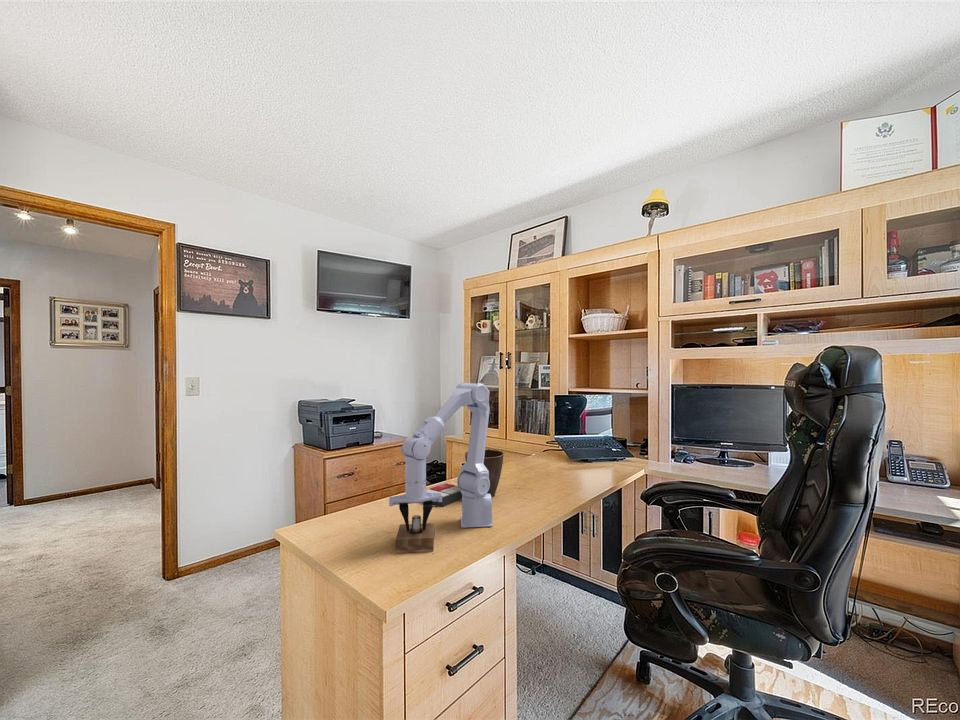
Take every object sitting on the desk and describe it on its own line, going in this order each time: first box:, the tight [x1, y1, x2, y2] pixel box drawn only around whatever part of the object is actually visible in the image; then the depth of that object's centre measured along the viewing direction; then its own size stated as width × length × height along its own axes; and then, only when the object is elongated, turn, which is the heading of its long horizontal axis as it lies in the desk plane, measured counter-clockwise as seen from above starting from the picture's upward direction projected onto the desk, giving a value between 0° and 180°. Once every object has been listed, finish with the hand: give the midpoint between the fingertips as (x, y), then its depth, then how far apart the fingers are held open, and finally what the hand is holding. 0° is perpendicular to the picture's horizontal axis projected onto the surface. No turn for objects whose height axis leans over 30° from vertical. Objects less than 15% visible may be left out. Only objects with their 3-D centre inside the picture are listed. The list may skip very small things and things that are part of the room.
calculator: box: [426, 482, 462, 508], centre depth 147 cm, size 11×4×15 cm
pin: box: [411, 514, 422, 534], centre depth 109 cm, size 2×2×7 cm
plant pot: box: [464, 449, 505, 498], centre depth 150 cm, size 15×15×16 cm
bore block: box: [394, 522, 436, 554], centre depth 110 cm, size 10×10×4 cm
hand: (415, 529), depth 110 cm, fingers open, 4 cm apart
